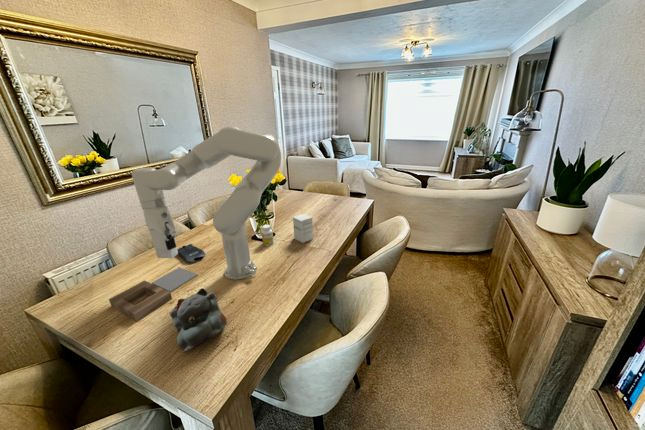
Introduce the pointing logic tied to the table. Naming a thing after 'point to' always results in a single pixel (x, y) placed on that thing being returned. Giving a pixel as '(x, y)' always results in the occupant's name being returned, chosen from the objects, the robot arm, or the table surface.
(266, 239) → the supplement bottle
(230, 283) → the table surface
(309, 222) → the supplement box
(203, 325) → the lucky cat figurine
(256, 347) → the table surface
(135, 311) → the walnut socket block
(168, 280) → the grey rubber mat
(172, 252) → the skincare box
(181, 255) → the electronic device
